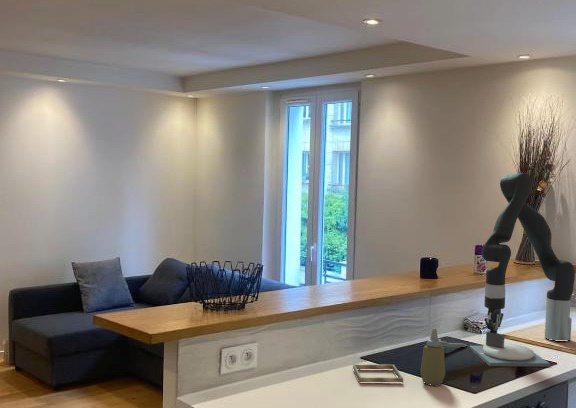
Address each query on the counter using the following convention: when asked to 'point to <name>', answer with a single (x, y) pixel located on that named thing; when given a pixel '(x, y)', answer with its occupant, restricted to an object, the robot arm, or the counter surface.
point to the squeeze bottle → (433, 361)
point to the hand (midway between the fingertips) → (493, 339)
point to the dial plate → (494, 361)
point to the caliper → (451, 344)
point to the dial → (505, 348)
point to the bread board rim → (377, 379)
